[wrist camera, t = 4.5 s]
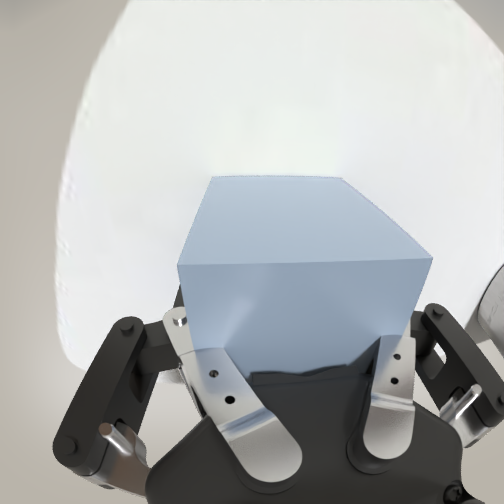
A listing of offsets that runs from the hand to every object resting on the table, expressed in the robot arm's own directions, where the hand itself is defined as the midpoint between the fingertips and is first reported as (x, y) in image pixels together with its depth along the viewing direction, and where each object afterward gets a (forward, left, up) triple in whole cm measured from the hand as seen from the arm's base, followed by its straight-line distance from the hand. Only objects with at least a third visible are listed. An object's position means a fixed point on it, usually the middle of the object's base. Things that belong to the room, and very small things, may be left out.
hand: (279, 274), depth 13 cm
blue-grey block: (0, 0, -2) cm, 2 cm away
